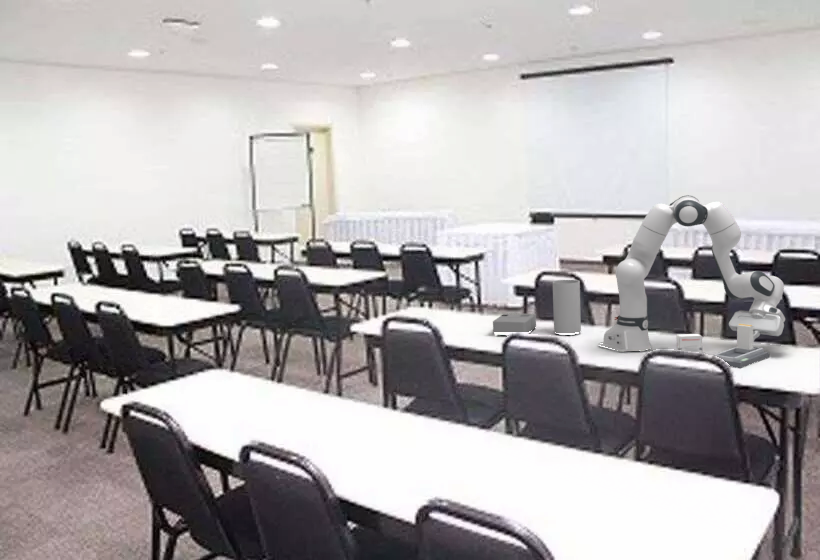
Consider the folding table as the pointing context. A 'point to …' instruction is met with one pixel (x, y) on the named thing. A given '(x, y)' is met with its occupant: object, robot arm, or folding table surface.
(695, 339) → the ink box
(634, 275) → the robot arm
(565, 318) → the cylinder vase
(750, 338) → the fader knob
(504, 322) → the projector
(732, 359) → the fader console
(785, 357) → the folding table surface
